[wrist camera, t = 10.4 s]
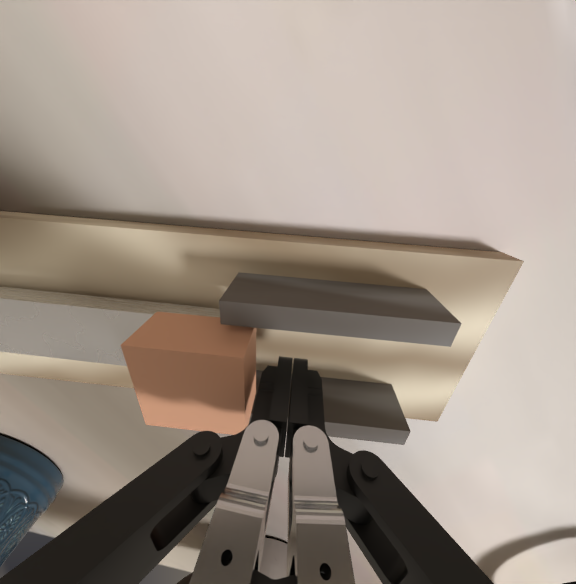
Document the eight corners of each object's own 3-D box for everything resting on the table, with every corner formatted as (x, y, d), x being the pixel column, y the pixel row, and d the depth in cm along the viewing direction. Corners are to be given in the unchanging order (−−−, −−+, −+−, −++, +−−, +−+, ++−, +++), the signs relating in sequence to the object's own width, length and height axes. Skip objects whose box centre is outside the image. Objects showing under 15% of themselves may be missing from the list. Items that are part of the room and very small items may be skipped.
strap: (239, 363, 15) (233, 379, 14) (-59, 329, 16) (-89, 342, 15) (237, 309, 13) (230, 323, 12) (-98, 275, 14) (-137, 285, 13)
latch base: (427, 403, 18) (463, 471, 14) (-28, 354, 20) (-119, 403, 15) (501, 252, 13) (595, 290, 9) (-135, 199, 14) (-320, 211, 10)
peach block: (255, 392, 14) (245, 436, 12) (172, 383, 14) (146, 424, 12) (256, 320, 12) (243, 357, 9) (157, 311, 12) (120, 345, 10)
